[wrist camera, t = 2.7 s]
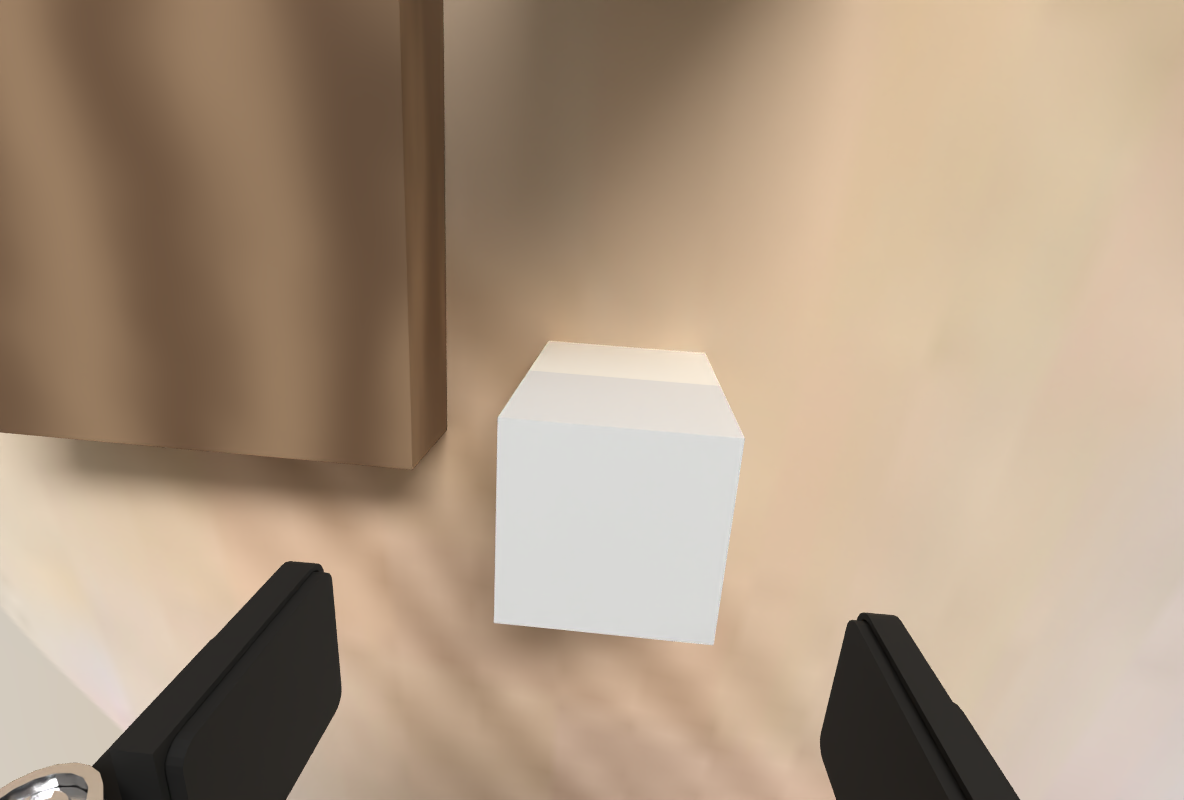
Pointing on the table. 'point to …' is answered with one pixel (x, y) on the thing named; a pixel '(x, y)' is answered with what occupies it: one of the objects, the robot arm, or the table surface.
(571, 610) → the white rectangular block
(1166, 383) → the table surface
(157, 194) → the walnut stand
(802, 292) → the table surface
